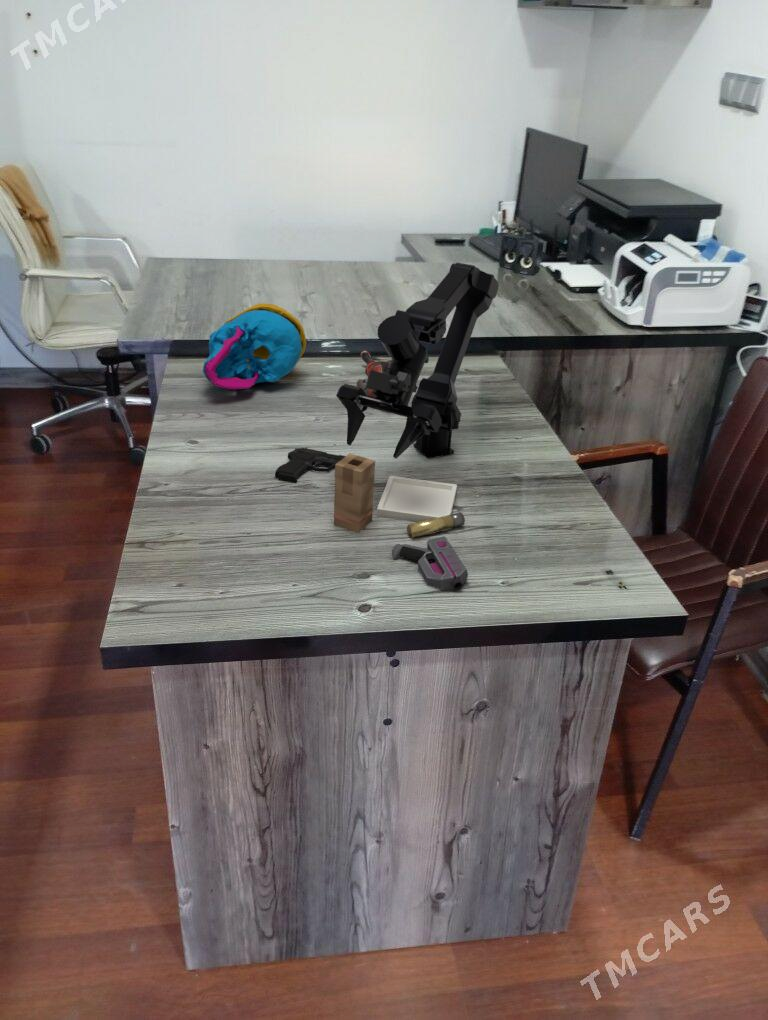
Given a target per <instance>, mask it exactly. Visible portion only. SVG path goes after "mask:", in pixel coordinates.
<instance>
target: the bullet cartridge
mask: <svg viewBox="0 0 768 1020" xmlns="http://www.w3.org/2000/svg"><path fill="white" fill-rule="evenodd" d="M465 522H466V519H465V516H464V514H463V512H460V511H459V512H456V513H451V514H450V515H446V516H442V517H438V518H434V519H429V520H425V521H421V522H413V523H410V524H409V523H408V524H407V526H406V532H407V536H408V537H409V538H411V539H413V538H417V537H422V536H425V535H430V534H434V533H438V532H441V531H446V530H449V529H455V528H458V527H463V526H464V525H465V524H466V523H465Z"/></svg>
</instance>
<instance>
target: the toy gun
mask: <svg viewBox="0 0 768 1020" xmlns="http://www.w3.org/2000/svg"><path fill="white" fill-rule="evenodd" d="M391 553H392V558H393V560H397V559H399V558H402V559H407V560H409V561H415V562H417V570H418V571H419V572H420V575H421V574H422V575H421V577H422V579H423V580H424V582H425V584H426V583H427V584H426V585H427V586H429V585H430V586H429V587H433V586H434V587H433V588H437V589H440V588H441V589H440V591H442V590H443V591H450V589H451V590H455V591H458V590H460V589H462V587H463V585H464V584H466V582H467V579H468V576H469V574H468V570H467V567H466V566H465V565H464V563H463V562H462V560H461V559H460V557H459V555H458V554H457V552H456V551H455V549H454V548H453V546H452V544H451V542H450V541H449V540H448V539H447V537H446V536H438V537H434V538H429V539H428V540H427V541H426V548H424V547H419V546H415V545H412V544H408V543H407V544H406V543H405V544H401V543H397V544H394V546H393V548H392V551H391Z"/></svg>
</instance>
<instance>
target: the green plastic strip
mask: <svg viewBox="0 0 768 1020" xmlns="http://www.w3.org/2000/svg"><path fill="white" fill-rule="evenodd" d="M605 573H606V574H607V575H608V576H611V575H614V571H612V570H606V571H605ZM615 576H616V575H614V576H612V577H611V579H612V580H614V578H615ZM618 584H619V585H618V586H617V587H618V588H619V589H624V588H625V590H627V586H626V585H625V584H624V583H623V582H621V581H619V582H618Z"/></svg>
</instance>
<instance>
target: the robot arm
mask: <svg viewBox="0 0 768 1020" xmlns="http://www.w3.org/2000/svg"><path fill="white" fill-rule="evenodd" d="M498 292H499V282H498V279H496V278H495V275H494V274H493V273H487V272H485V271H483V270H481V269H480V268H479V267H477V266H476V265H473V264H467V263H464V262H462V263H461V262H455V263H454V262H453V263H452V264H451V265H450V267H449V270H448V273H447V274H446V275H445V276H444V277H443V279H441V281H440V282H439V284H438V285H437V286H436V287H435V289H434V290H433V291H432V292H431V293H430V294H429V295H428V297H427V298H426V299H422V300H421V299H420V300H419V301H415V302H414V303H412V304H411V305H410V306H409V307H408V308H406V310H399V309H397V310H396V312H395V314H394V315H391V316H389V317H386V318H385V319H384V320H383V321H382V322H381V323H379V325H378V328H377V337H378V339H379V340H380V343H381V344H382V346H383V347H384V350H385V351H386V353H387V355H388V356H389V357H390V358H391V359H392V360H391V362H390V365H389V367H388V368H386V367H385V368H384V369H383V371H382V373H381V372H377V371H373V370H370V371H369V375H368V376H367V379H366V380H367V381H366V384H365V385H366V388H368V389H372V393H373V394H374V395H376V398H374V397H370V396H367V395H366V393H365V392H364V391H363V389H362V388H361V387H358V386H357V385H352V384H349V383H344V384H342V385H341V386H340V387H339V388H338V391H337V393H336V398H337V399H338V400H339V402H340V403H341V404H342V406H344V408H345V409H346V411H347V432H346V444H347V445H348V446H351V445H352V444H353V443H354V440H355V439H356V438H357V435H358V433H359V431H360V428H361V426H362V424H363V421H364V420H365V418H366V414H365V412H366V411H367V410H368V408H369V409H370V408H371V409H373V410H377V411H378V410H379V411H381V412H385V413H389V414H393V415H397V416H401V417H405V418H406V420H405V421H406V422H405V427H404V429H403V431H402V434H401V435H400V438H399V441H398V442H397V444H396V447H395V450H394V453H393V458H394V459H398V458H399V457H400V456H401V455H402V454H403V453H404V452H405V451H406V450H407V449H408V448H410V447H411V446H412V445H413V447H414V448H415V449H416V450H417V451H419V452H420V453H421V454H422V455H423V456H424V457H426V458H427V459H434V458H438V457H439V458H440V457H443V456H448V455H454V454H455V450H454V449H453V448H451V446H452V445H451V444H452V435H453V430H458V429H459V426H460V425H459V424H460V422H461V417H462V413H461V411H460V409H459V408H458V405H457V403H458V395H457V391H456V387H455V383H456V380H457V377H458V374H459V372H460V368H461V366H462V363H463V360H464V357H465V355H466V351H467V349H468V345H469V342H470V340H471V338H472V334H473V333H474V332H473V331H474V328H475V327H476V323H477V320H478V318H479V317H482V315H483V314H485V313H486V312H487V311H488V310H489V309H490V307H491V304H492V302H493V300H494V299H495V298H496V297H497V295H498ZM454 308H455V309H454ZM453 310H454V313H453V316H452V319H451V322H450V324H449V327H448V329H447V320H446V319H447V317H448V316H449V315H450V313H452V311H453ZM446 332H447V333H446ZM445 334H446V335H445ZM444 335H445V338H444ZM443 338H444V341H443V343H442V347H441V350H440V353H439V356H438V358H437V361H436V364H435V367H434V370H433V371H432V374H431V375H430V376H429V377H427V378H425V377H422V379H421V380H420V381H419V378H420V376H421V372H422V371H423V368H424V366H425V364H428V363H429V359H430V358H429V353H428V351H427V347H425V345H423V344H422V343H425V344H429V345H430V344H431V345H437V344H438V343H439V342H440V340H442V339H443ZM418 381H419V384H418V385H417V383H418ZM413 393H415V394H414V395H413ZM412 395H413V397H412ZM411 397H412V401H411ZM410 401H411V405H410V406H409V403H410Z"/></svg>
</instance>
